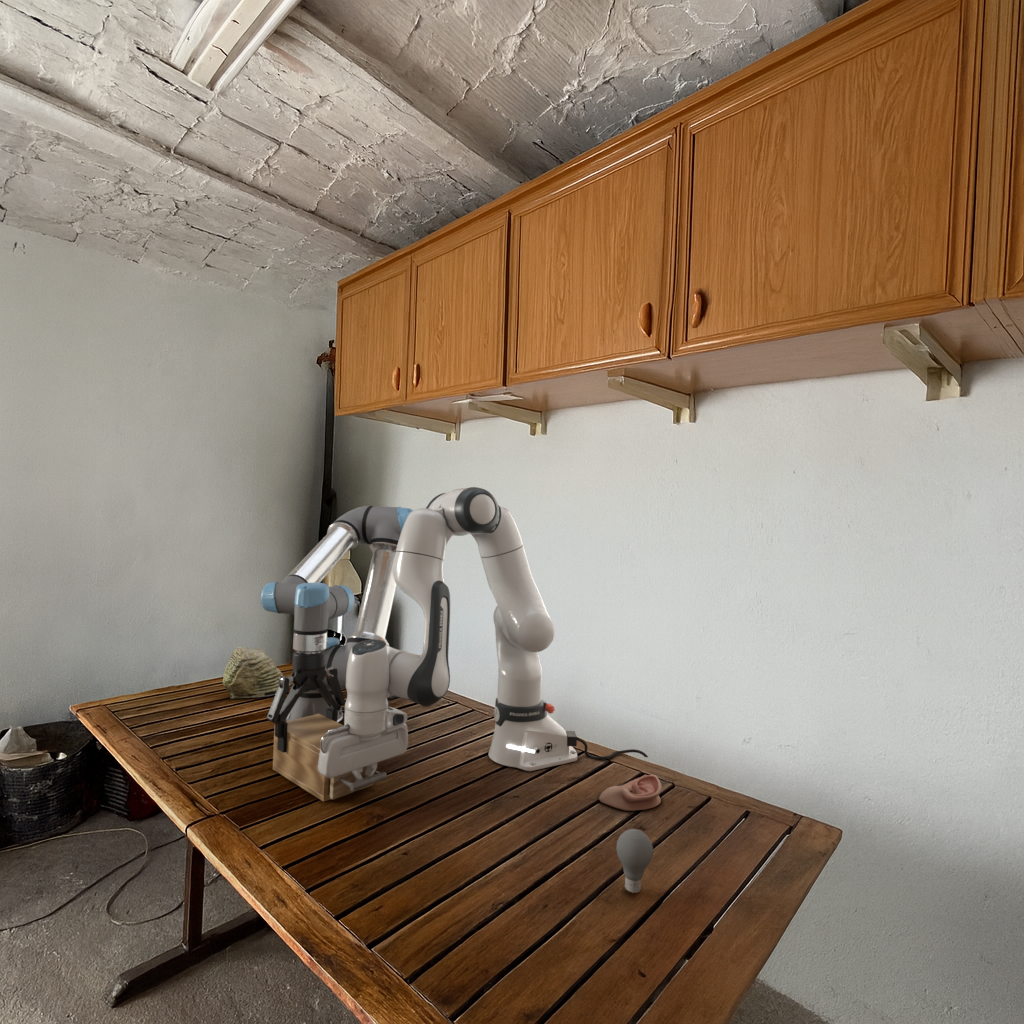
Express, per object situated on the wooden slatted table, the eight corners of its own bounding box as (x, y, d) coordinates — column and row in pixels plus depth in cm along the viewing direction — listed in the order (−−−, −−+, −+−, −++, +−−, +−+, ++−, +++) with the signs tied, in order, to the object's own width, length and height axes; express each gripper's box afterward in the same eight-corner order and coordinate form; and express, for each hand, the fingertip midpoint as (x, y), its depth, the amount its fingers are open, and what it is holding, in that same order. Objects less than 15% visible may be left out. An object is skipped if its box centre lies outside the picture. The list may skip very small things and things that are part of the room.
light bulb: (610, 879, 108) (613, 822, 108) (644, 879, 109) (647, 822, 109) (619, 902, 102) (622, 840, 102) (655, 901, 103) (658, 840, 103)
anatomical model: (598, 788, 134) (602, 766, 145) (597, 806, 134) (601, 783, 146) (662, 796, 132) (661, 774, 143) (662, 815, 132) (660, 791, 143)
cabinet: (369, 784, 140) (371, 738, 140) (323, 801, 132) (325, 752, 131) (317, 755, 154) (318, 713, 154) (272, 769, 146) (274, 724, 146)
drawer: (390, 793, 134) (391, 754, 134) (348, 809, 127) (350, 768, 127) (323, 756, 151) (325, 722, 151) (283, 769, 144) (284, 733, 144)
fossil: (218, 695, 195) (220, 647, 195) (278, 685, 208) (279, 640, 207) (228, 703, 189) (230, 653, 188) (289, 692, 201) (290, 645, 201)
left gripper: (269, 661, 135) (265, 762, 136) (362, 645, 153) (359, 735, 153) (252, 655, 140) (248, 752, 141) (345, 640, 158) (341, 726, 158)
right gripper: (330, 736, 122) (327, 807, 122) (413, 712, 137) (410, 776, 138) (313, 727, 126) (310, 796, 127) (395, 705, 142) (393, 766, 142)
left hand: (306, 743), depth 147 cm, fingers closed on cabinet, 11 cm apart
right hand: (363, 785), depth 132 cm, fingers closed
